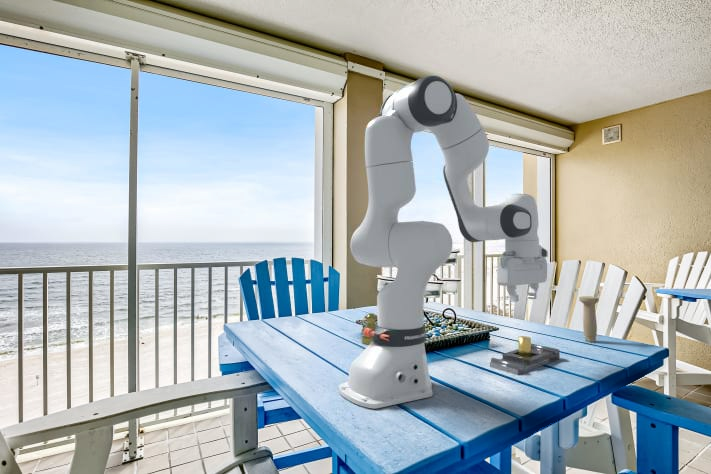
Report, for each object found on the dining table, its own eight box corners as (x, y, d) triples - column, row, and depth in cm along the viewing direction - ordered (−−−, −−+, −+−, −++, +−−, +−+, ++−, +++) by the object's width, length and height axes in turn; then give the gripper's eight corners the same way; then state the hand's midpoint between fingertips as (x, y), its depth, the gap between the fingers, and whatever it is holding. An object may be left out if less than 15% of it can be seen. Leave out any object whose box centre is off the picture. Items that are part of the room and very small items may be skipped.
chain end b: (532, 370, 95) (531, 358, 95) (501, 362, 102) (500, 350, 103) (561, 359, 104) (561, 347, 104) (531, 352, 112) (530, 341, 112)
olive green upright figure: (385, 341, 128) (385, 312, 128) (375, 346, 122) (375, 316, 122) (367, 338, 132) (367, 311, 132) (357, 343, 126) (356, 314, 126)
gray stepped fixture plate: (519, 375, 92) (519, 367, 92) (488, 366, 99) (488, 358, 99) (551, 363, 101) (550, 355, 101) (520, 355, 108) (520, 348, 108)
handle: (577, 340, 124) (575, 297, 125) (589, 338, 127) (587, 295, 128) (591, 344, 120) (590, 298, 120) (603, 341, 123) (601, 297, 123)
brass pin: (527, 365, 100) (526, 339, 100) (516, 362, 102) (516, 337, 102) (533, 362, 101) (533, 337, 102) (522, 360, 104) (522, 335, 104)
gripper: (511, 251, 94) (513, 304, 94) (550, 251, 106) (552, 298, 106) (490, 251, 99) (491, 302, 99) (530, 251, 111) (531, 296, 111)
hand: (523, 300), depth 102 cm, fingers open, 8 cm apart
